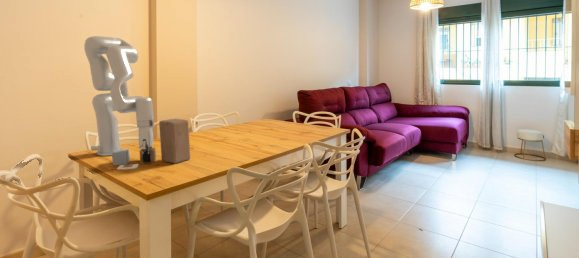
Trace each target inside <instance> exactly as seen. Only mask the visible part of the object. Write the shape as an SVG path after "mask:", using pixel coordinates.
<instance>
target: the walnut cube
mask: <svg viewBox="0 0 579 258" xmlns="http://www.w3.org/2000/svg"><path fill="white" fill-rule="evenodd" d="M147 151H148V149H147ZM149 154H150V159H151V161H150V162H143V149H142V148H140V150H139V159H140V160H139V162H140V164H154V163H155V162H156V161H157V152H156V147H152V148H149Z"/></svg>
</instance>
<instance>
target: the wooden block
mask: <svg viewBox="0 0 579 258" xmlns="http://www.w3.org/2000/svg"><path fill="white" fill-rule="evenodd" d="M158 126H159V140H160V152H161V160H162V162H165V163H166V162H167V163H172V164H174V165H175V164H179V163H182V162H186V161H189V160H190V159H191V150H190V149H191V148H190V146H191V145H190V130H189V129H190V127H189V121H188V120H187V119H181V118H170V119H165V120H160V121H159V123H158Z"/></svg>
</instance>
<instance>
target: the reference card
mask: <svg viewBox="0 0 579 258" xmlns="http://www.w3.org/2000/svg"><path fill="white" fill-rule="evenodd" d="M139 166H140V164H139V163H135V164H134V163H133V164H124V165H118V166H117V168H116V169H117V170H131V169H133V170H134V169H138V168H139Z"/></svg>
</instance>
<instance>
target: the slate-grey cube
mask: <svg viewBox="0 0 579 258" xmlns="http://www.w3.org/2000/svg"><path fill="white" fill-rule="evenodd" d="M111 159H112V165H113V166H120V165H123V164H124V165H129V163H130V162H131V155H130V149H128V148H127V149H126V148H121V150H115V151H113V152H112V155H111Z"/></svg>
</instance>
